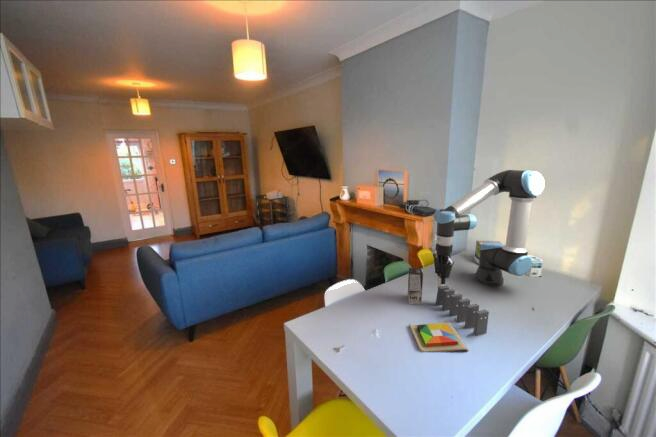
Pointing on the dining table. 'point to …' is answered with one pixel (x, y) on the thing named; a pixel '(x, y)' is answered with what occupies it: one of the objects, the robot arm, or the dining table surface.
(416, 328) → the wooden puzzle
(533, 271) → the light bulb box
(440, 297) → the domino
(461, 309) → the domino
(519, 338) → the dining table surface
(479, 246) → the tea box
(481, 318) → the domino
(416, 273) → the coffee box
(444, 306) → the domino
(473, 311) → the domino
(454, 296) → the domino
